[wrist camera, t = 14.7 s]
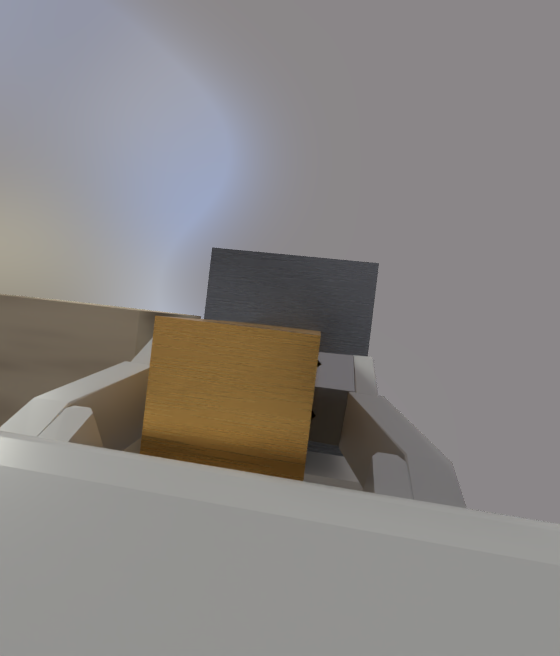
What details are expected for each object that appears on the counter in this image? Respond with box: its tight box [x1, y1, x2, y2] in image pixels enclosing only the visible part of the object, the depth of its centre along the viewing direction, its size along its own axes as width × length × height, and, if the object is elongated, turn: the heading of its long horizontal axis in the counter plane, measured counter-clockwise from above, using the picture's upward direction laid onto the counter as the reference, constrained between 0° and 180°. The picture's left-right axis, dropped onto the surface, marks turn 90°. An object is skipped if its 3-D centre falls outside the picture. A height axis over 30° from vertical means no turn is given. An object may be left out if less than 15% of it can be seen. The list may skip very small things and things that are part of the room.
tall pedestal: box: [0, 294, 201, 454], centre depth 20 cm, size 8×9×26 cm
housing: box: [140, 248, 379, 481], centre depth 14 cm, size 16×7×8 cm, turn 173°
